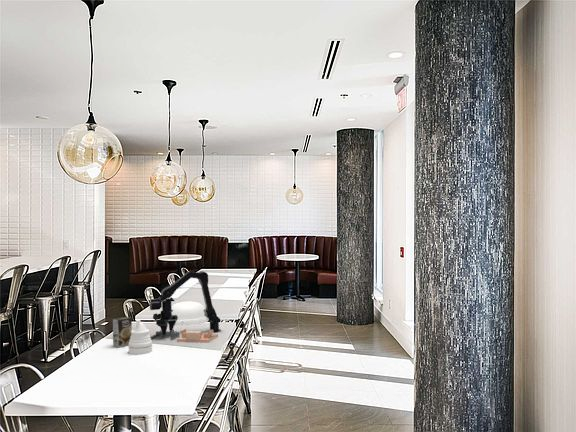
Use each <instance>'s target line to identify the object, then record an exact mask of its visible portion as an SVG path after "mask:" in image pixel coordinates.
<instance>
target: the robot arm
mask: <svg viewBox="0 0 576 432" xmlns="http://www.w3.org/2000/svg"><path fill="white" fill-rule="evenodd" d="M190 279H197V281H198V283H199V285H200V287H201V291H202V296H203V299H204V304H205V310H204V313H205V315H204V316H206V318H208V322H209V330H208V331H207V332H209V331H210V330H213V333H218V332H220V331H221V328H219V327H220V322H221V318H220V317H218V316H217V315H218V314H217V312H216V310H215V308H214V306H213V302H212V298H211V293H210V288H209V274H208V273H207V272H206V271H203V270H201V271H187V272H186V273H185V274H183V275H182V276H181V277H179V278H178V279H177V280H176V281H174V283H172V284H171V285H168V286H166V287H164V288H163V289H162V290H161V291H160V295H159V296H158V298H151V299H150V300H149V311H157V310H160V313H157V312H156V313H153V315H152V316H153V317H152V319H153V320H154V321H155V325H156V326H157V327H160V330H162V333H163V335H165V334H166V331H167V330H169V332H171V331H172V330H174V327H175V326H176V325H175V323H176V321H177V319H178V316H177V315H172V311H173V310H172V302H175V301H176V300H175V298H173V297H172V296H173V295H174V294H175V292H176V291H177V290H178V289H179V288H181V286H183V285H184V284H186V283H187V282H188V281H189V280H190ZM167 323H169V324H167Z"/></svg>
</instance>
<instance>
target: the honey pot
mask: <svg viewBox="0 0 576 432" xmlns="http://www.w3.org/2000/svg"><path fill="white" fill-rule="evenodd" d="M135 323H136V324H135V325H134V328H132V331H131V333H132V335H131V337H130V342H129V345H128V354H129V355H134V356H135V355H146V354H150V353H152V352H153V339H152V340H151V338H150V337H151V335H150V329H148V328H147V326H146V325H145V324H144V322H143V321H141V319H136V320H135Z"/></svg>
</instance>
